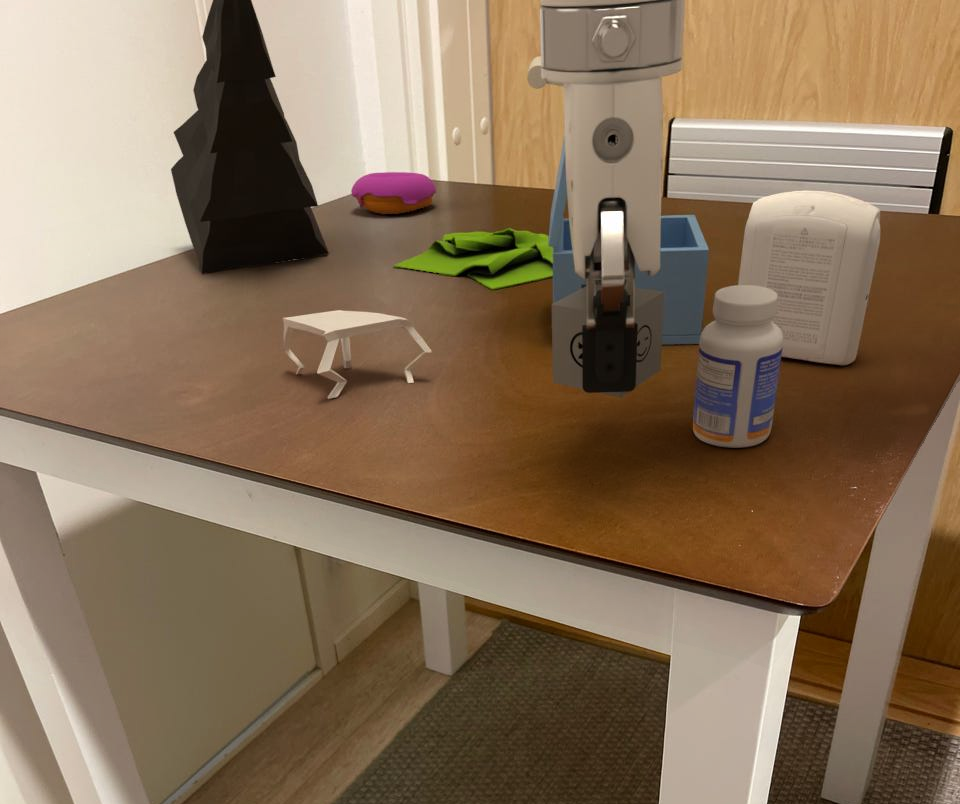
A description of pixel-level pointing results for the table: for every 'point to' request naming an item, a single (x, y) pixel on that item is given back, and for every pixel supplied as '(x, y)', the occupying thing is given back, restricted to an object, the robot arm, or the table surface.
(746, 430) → the pill bottle
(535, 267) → the cloth
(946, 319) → the table surface
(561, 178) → the case lid
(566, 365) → the dice cube
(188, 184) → the decorative tree
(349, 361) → the origami figure
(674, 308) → the case
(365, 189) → the donut
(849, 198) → the photo printer
